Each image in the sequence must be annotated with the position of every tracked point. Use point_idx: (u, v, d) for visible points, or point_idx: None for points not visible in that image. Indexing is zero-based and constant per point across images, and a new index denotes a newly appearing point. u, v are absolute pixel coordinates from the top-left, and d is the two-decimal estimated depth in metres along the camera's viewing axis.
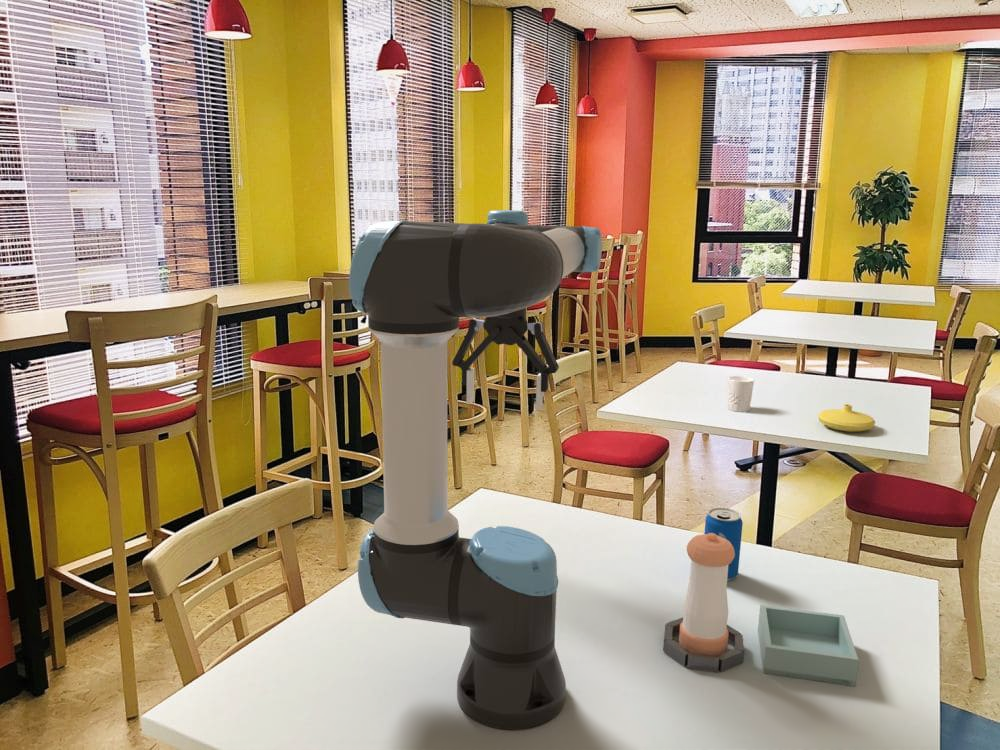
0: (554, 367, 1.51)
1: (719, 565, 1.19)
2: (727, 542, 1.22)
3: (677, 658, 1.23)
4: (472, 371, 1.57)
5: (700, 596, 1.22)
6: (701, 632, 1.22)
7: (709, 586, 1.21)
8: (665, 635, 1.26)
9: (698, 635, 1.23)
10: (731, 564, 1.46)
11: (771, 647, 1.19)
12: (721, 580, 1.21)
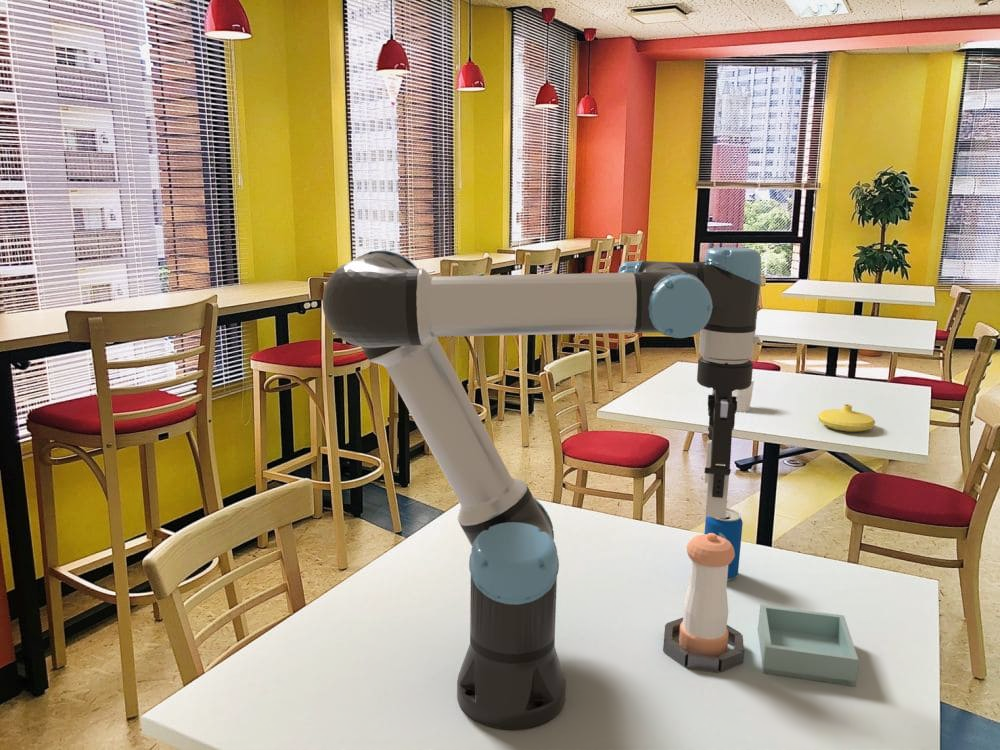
0: (711, 466, 1.10)
1: (719, 565, 1.19)
2: (727, 542, 1.22)
3: (677, 658, 1.23)
4: None
5: (700, 596, 1.22)
6: (701, 632, 1.22)
7: (709, 586, 1.21)
8: (665, 635, 1.26)
9: (698, 635, 1.23)
10: (731, 564, 1.46)
11: (771, 647, 1.19)
12: (721, 580, 1.21)
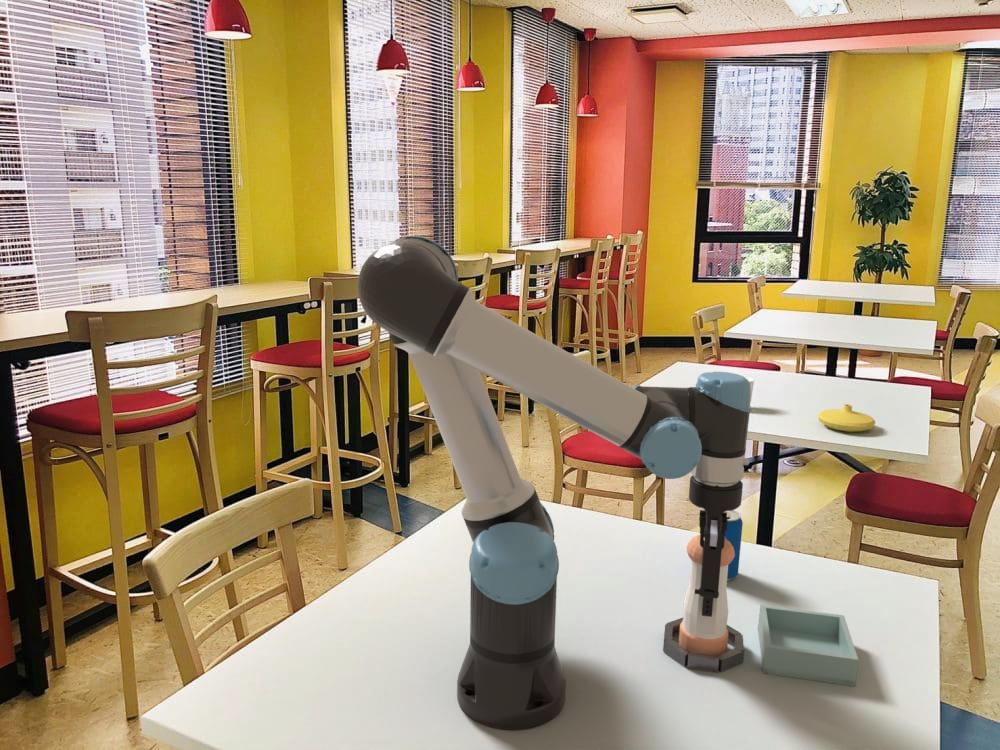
0: (700, 590, 1.17)
1: None
2: (727, 542, 1.22)
3: (677, 658, 1.23)
4: None
5: None
6: None
7: None
8: (665, 635, 1.26)
9: (698, 635, 1.23)
10: (731, 564, 1.46)
11: (771, 647, 1.19)
12: (721, 580, 1.21)
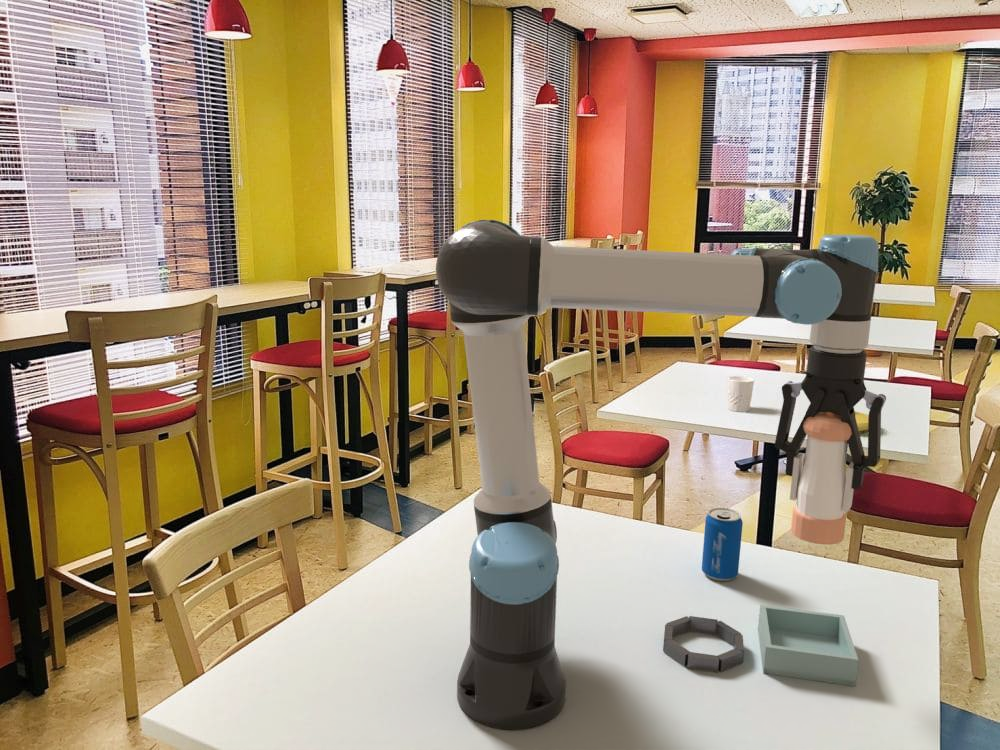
0: (875, 460, 1.12)
1: None
2: None
3: (677, 658, 1.23)
4: (801, 458, 1.19)
5: (842, 474, 1.15)
6: (842, 511, 1.17)
7: (845, 460, 1.16)
8: (665, 635, 1.26)
9: (840, 515, 1.17)
10: (731, 564, 1.46)
11: (771, 647, 1.19)
12: None
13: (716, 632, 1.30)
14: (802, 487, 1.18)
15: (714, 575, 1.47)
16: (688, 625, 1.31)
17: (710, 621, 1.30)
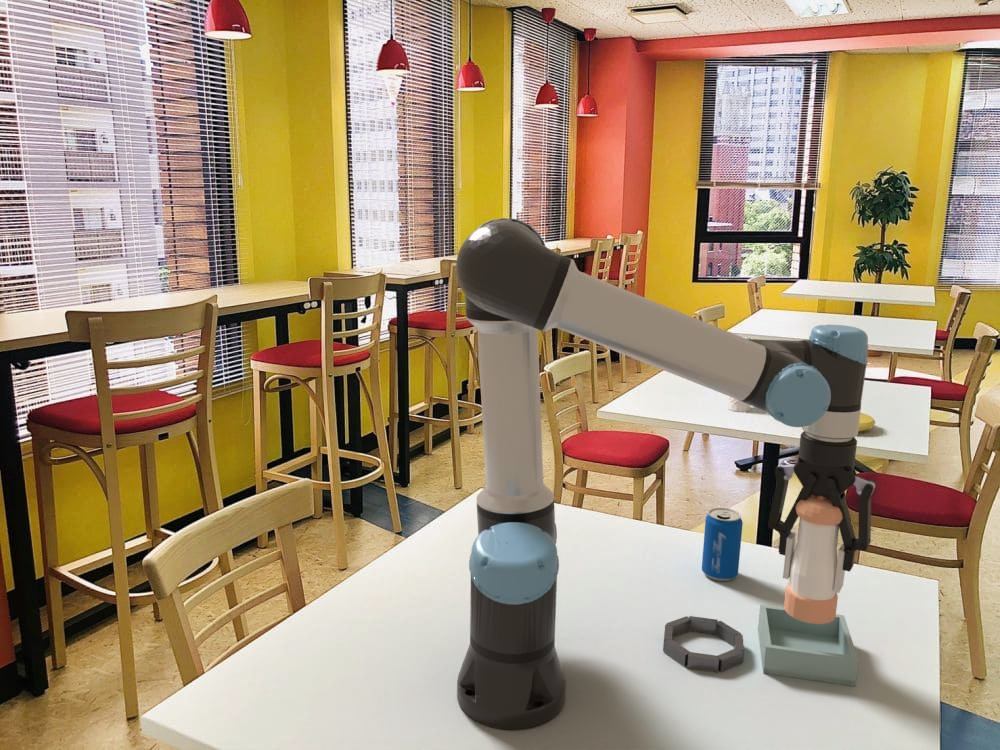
0: (865, 544, 1.15)
1: None
2: None
3: (677, 658, 1.23)
4: (794, 538, 1.22)
5: (833, 556, 1.18)
6: None
7: None
8: (665, 635, 1.26)
9: (832, 595, 1.20)
10: (731, 564, 1.46)
11: (771, 647, 1.19)
12: None
13: (716, 632, 1.30)
14: (795, 567, 1.21)
15: (714, 575, 1.47)
16: (688, 625, 1.31)
17: (710, 621, 1.30)
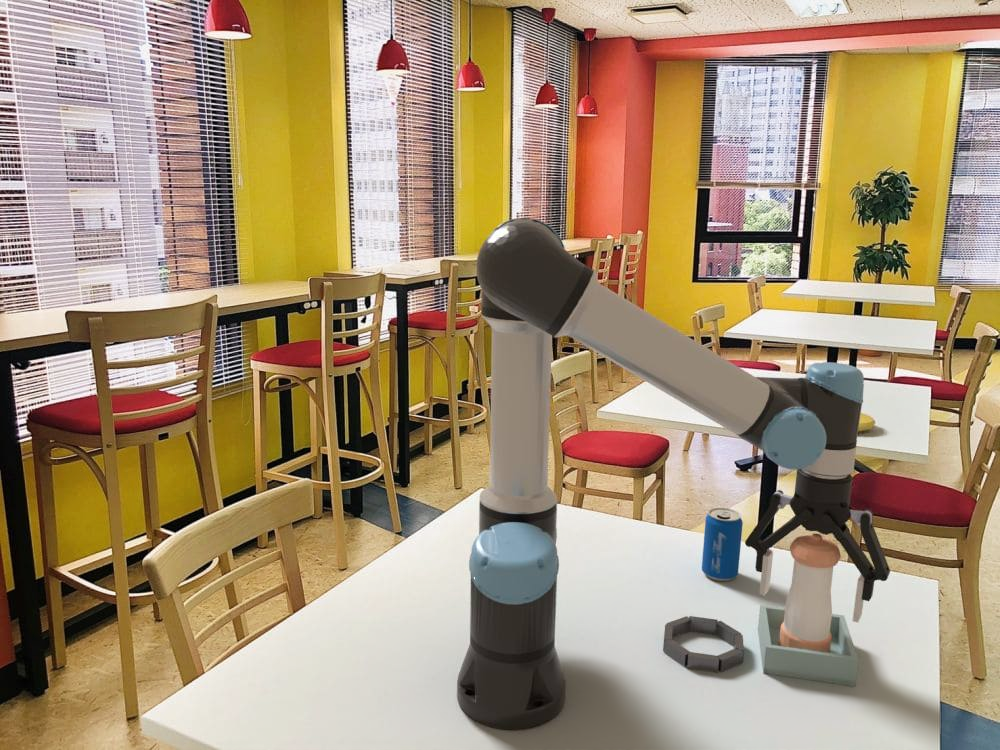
0: (884, 574, 1.15)
1: None
2: None
3: (677, 658, 1.23)
4: (770, 555, 1.25)
5: (827, 598, 1.20)
6: (828, 631, 1.21)
7: (830, 584, 1.20)
8: (665, 635, 1.26)
9: (826, 636, 1.21)
10: (731, 564, 1.46)
11: (771, 647, 1.19)
12: None
13: (716, 632, 1.30)
14: (789, 608, 1.22)
15: (714, 575, 1.47)
16: (688, 625, 1.31)
17: (710, 621, 1.30)
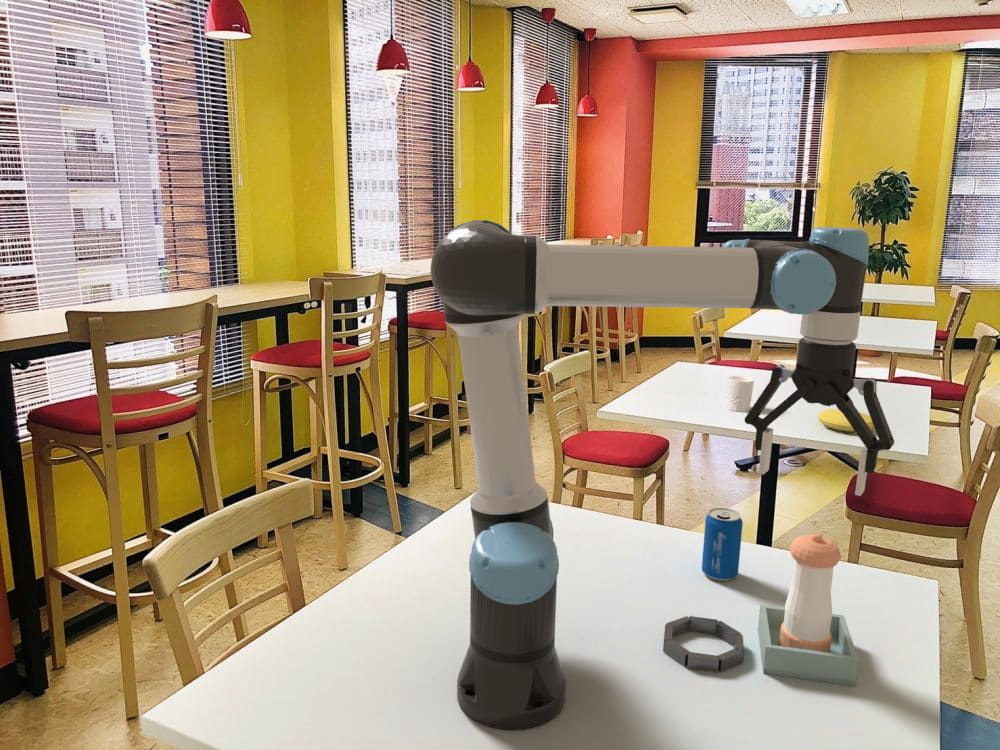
0: (888, 442, 1.11)
1: None
2: None
3: (677, 658, 1.23)
4: (770, 433, 1.22)
5: (827, 598, 1.20)
6: (828, 632, 1.21)
7: (831, 584, 1.20)
8: (665, 635, 1.26)
9: (826, 636, 1.21)
10: (731, 564, 1.46)
11: (771, 647, 1.19)
12: None
13: (716, 632, 1.30)
14: (789, 608, 1.22)
15: (714, 575, 1.47)
16: (688, 625, 1.31)
17: (710, 621, 1.30)
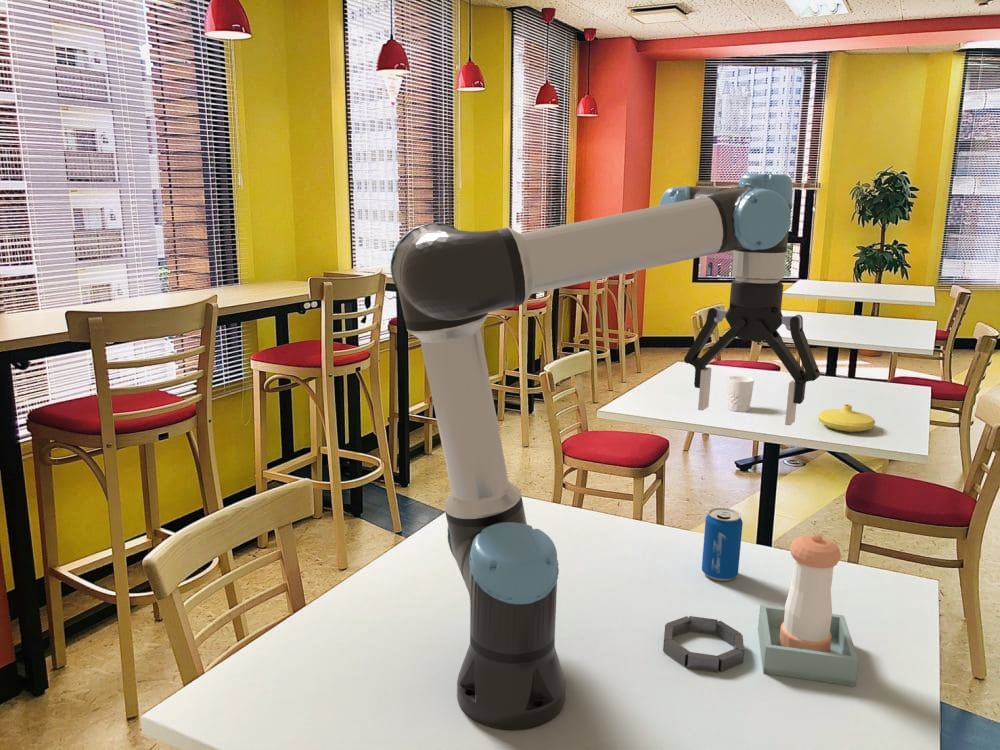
0: (813, 373, 1.20)
1: None
2: None
3: (677, 658, 1.23)
4: (708, 371, 1.30)
5: (827, 598, 1.20)
6: (828, 632, 1.21)
7: (831, 584, 1.20)
8: (665, 635, 1.26)
9: (826, 636, 1.21)
10: (731, 564, 1.46)
11: (771, 647, 1.19)
12: None
13: (716, 632, 1.30)
14: (789, 608, 1.22)
15: (714, 575, 1.47)
16: (688, 625, 1.31)
17: (710, 621, 1.30)
